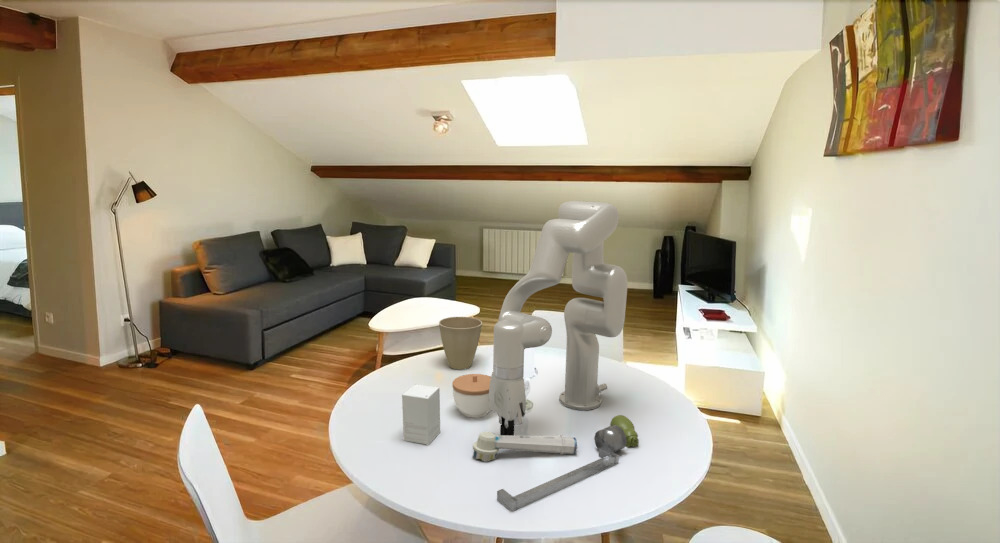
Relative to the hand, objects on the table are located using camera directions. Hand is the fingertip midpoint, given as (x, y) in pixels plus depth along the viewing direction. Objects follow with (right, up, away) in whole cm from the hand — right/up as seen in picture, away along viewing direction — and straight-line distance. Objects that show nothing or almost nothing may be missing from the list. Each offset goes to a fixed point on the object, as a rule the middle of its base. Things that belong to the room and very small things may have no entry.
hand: (507, 439), depth 136 cm
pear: (+30, -1, +3) cm, 31 cm away
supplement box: (-22, 0, +3) cm, 22 cm away
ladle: (+13, -4, -13) cm, 19 cm away
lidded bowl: (-9, +2, +17) cm, 20 cm away
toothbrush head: (+4, -3, -5) cm, 7 cm away
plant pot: (-16, +9, +53) cm, 56 cm away
